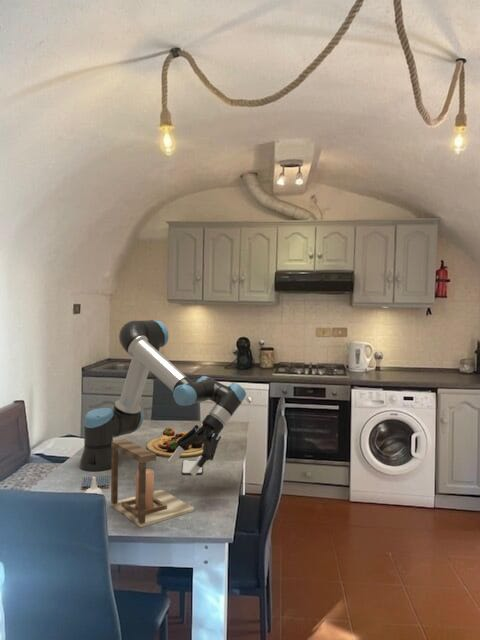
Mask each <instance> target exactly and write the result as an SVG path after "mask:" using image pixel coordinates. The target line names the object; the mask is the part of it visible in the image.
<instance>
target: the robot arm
mask: <svg viewBox="0 0 480 640" xmlns="http://www.w3.org/2000/svg"><path fill="white" fill-rule="evenodd" d="M167 329H168V328H167V326H166V325H165V324H164V323H163V322H162V321H160V320H154V319H150V320H131V321H128V322H127V323H125V324H124V325H123V326H122V327H121V329H120V330H119V335H118V338H119V339H118V340H119V344H120V345H121V347H122V348H123V350H124V351H125V352H126V353H127V354H128V355H129V356H131V360H130V364H129V367H128V371H127V374H126V377H125V380H124V384H123V386H122V387H123V388H122V391H121V394H120V398H119V399H118V400H116V401H115V402H114V405H113V409H112V408H111V407H100V408H95V409H91V410H89V411H88V412H87V413H86V414H85V415H84V422H83V423H84V424H83V425H84V435H83V436H84V445H83V446H84V447H83V448H84V449H83V451H82V455H81V457H80V460H79V468H80V469H81V470H84V471H88V472H89V471H90V472H103V471H107V470H111V467H112V447H111V445H112V441H114V438H117V437H121V436H124V435H129V434H132V433H134V432H136V431H138V430H139V429H140V428H141V427H142V425H143V422H144V416H143V412H142V407H141V406H140V402H141V399H142V395H143V392H144V390H145V386H146V383H147V382H146V381H147V379H148V376H149V373H150V372H151V373H152V374H153V375H154V376H155V377H156V378H158V379H159V381H160V382H162V383H163V384H164V385H165V386H166V387H167V388H168V389H169V390H171V392H172V393H173V394H172V397H173V399H174V401H175V403H176V404H177V405H178V406H182V407H183V406H184V407H185V406H190V405H191V406H192V405H194V404H198V403H202V402H206V401H211V402H213V403H215V404H214V405H213V407H212V408H211V409H210V411H209V412H208V414H207V415H206V416H205V418H203V420H202V422H201V423H202V426H201V427H200V426H199V425H198V424H196V425H194V427H193V428H192V429H190V431H188V432H186V433H187V434H185V435H184V436H183V437H182V438H180V439H179V440H178V441H177V443H178V447H177V448H176V450H175V451H174V453H173V454H172V456H171V457H170V458H168V460H167V461H168V462H169V463H170V464H171V465H172V466H174V465H175V464H176V463H177V461H178V460H179V459H180V458H179V457H180V456H181V454H182V453H183V452H184V448H186V447H188V446H190V445H191V444H193V443H195V442H197V441H198V442H199V441H201V442H204V444H203V454H202V455H201V456H198V457H197V458H196V459H195V460H196V462H195V463H194V465H193V466H192V467H191V469H190V470H189V472H190V473H191V474H192V475H191V476H193V477H195V476H197V475H196V473H197V472H198V471H199V469H200V468H201V467H202V466H203V467H204V465H205V463H206V462H207V461H209V460H210V461H213V460H214V458H215V453H216V451H217V448H218V444H219V442H220V440H221V438H222V436H221V435H220V433H222V432H221V431H222V430H223V429H224V426H226V425H227V424H228V422H229V420H230V419H231V417H232V416H233V415H234V413H235V412H236V411H237V409H238V408H239V407H240V405H242V403H243V401H244V400H245V398H246V397H247V392H246V390H245V388H243V387H242V385H240V384H238V383H235V382H231V383H230V384H229V385H225V384H223V383H221V382H219V381H217V380H215V379H214V378H213V377H209V376H206V375H203V376H200V378H198V379H197V380H196V381H195V382H193V380H191V379H189V377H188V376H186V375H185V374H184V373H183V372H182V371H181V370H180V369H178V367H176V366H175V364H173V363H172V362H171V361H170V360H169V359H167V358H166V357H165V355H163V354H162V353H161V352H160V349H161V348H163V347H164V346H166V345H167V344H168V342H169V330H167ZM183 445H184V446H183Z"/></svg>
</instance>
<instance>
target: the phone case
mask: <svg viewBox="0 0 480 640" xmlns="http://www.w3.org/2000/svg"><path fill="white" fill-rule="evenodd" d="M196 460H197V459H184V460H182V463H181V464H182V465H181V476H193V475H192V474H191V473H190V472H189V470H190V469H191V467H192V466H193V465H194V463H195V462H196ZM203 468H204V465H203V466H202V467H201V468H200V469H199V471H198V472H197V473H196V475H195V476H203V473H204V470H203Z"/></svg>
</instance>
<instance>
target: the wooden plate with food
mask: <svg viewBox="0 0 480 640" xmlns="http://www.w3.org/2000/svg"><path fill="white" fill-rule="evenodd" d="M187 433H188V432H185V431H182V432H181V431H180V432H178V433H176V434H175V430H174V429H173V427H172V426H167V427H166V428H165V429H163V431H162V436H159V437H157V438H153V439H151V440H150V441H148V443H147V444H146V448H145V449H147V450H149V451H151V452H153V453H155V454H156V457H160V458H167V459H169V458H170V457H171V456H172V454H173V453H174V451H175V450H176V448H177V447H178V443H177V441H178V440H179V439H180V438H182V437H183V436H184V435H185V434H187ZM203 444H204V442H201V441H199V442H198V441H197V442H195V443H193V444H191V445H190V446H188V447H186V448H184V452H183V453H182V454H181V456H180V457H179V458H178V459H187V458H196V457H197V458H198V457H199V456H202V454H203ZM183 446H184V445H183Z"/></svg>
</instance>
